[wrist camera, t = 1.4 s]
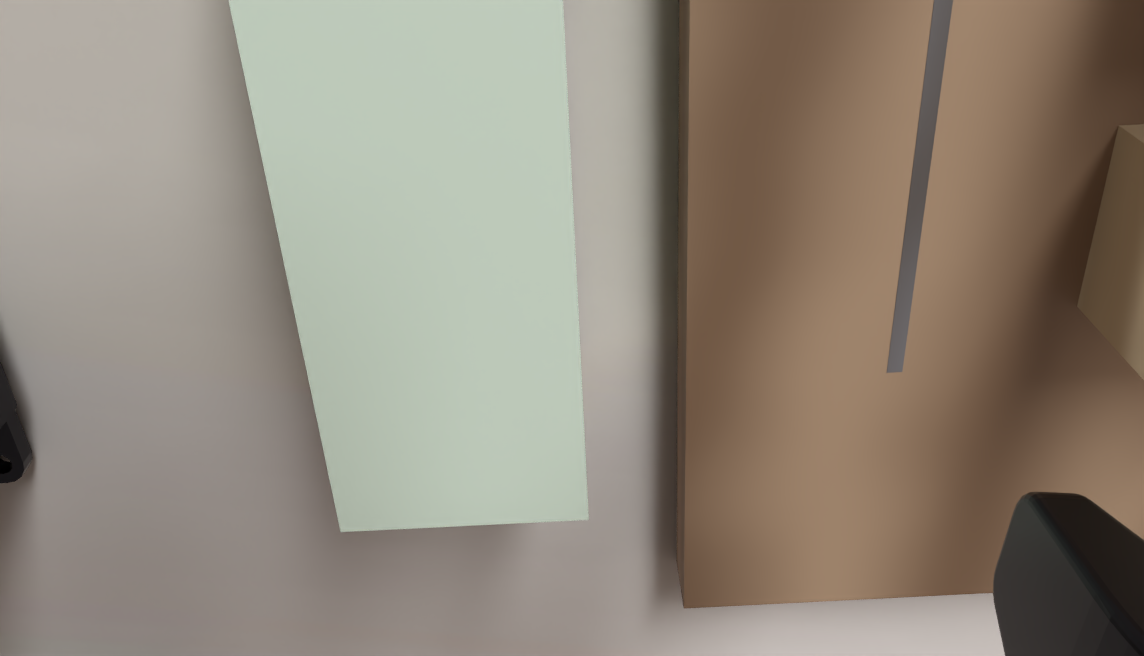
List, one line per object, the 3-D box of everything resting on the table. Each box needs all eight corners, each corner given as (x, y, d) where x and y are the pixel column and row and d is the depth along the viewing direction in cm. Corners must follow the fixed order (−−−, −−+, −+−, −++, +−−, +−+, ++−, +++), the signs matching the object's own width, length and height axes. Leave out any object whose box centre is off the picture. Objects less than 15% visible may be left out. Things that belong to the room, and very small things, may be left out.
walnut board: (676, 561, 24) (683, 608, 23) (683, -980, 12) (700, -1065, 11) (1276, 530, 24) (1317, 576, 23) (1897, -1052, 12) (2062, -1147, 11)
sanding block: (386, 351, 21) (340, 532, 17) (275, -337, 15) (151, -362, 11) (579, 342, 21) (588, 519, 17) (544, -352, 15) (543, -384, 10)
